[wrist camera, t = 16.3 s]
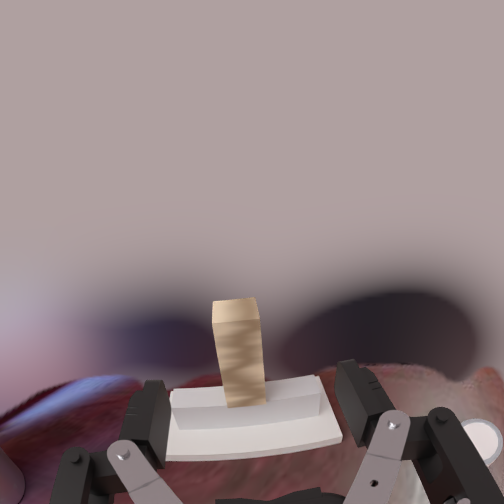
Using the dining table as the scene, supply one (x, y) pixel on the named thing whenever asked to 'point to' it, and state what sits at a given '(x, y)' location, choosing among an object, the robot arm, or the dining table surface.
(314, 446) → the ridge stand
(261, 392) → the maple block
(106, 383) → the dining table surface
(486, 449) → the white cylinder
